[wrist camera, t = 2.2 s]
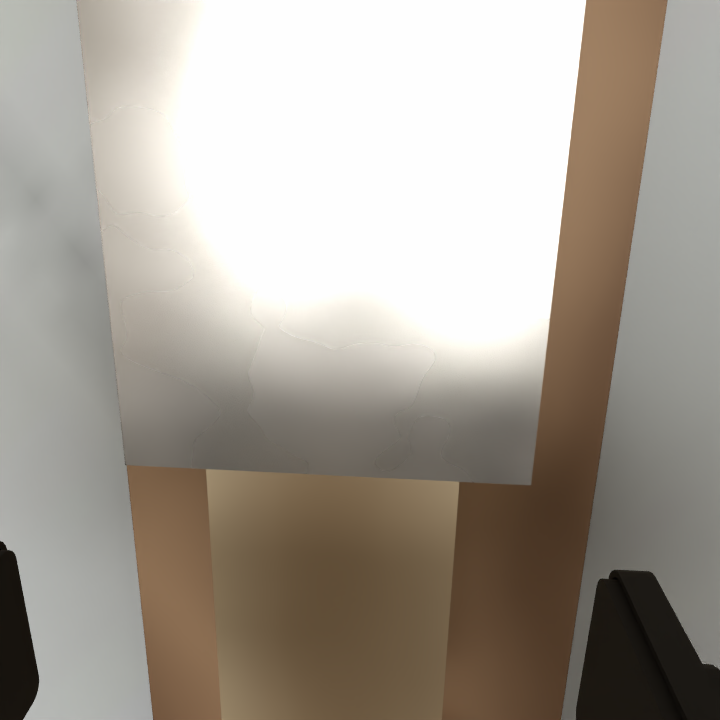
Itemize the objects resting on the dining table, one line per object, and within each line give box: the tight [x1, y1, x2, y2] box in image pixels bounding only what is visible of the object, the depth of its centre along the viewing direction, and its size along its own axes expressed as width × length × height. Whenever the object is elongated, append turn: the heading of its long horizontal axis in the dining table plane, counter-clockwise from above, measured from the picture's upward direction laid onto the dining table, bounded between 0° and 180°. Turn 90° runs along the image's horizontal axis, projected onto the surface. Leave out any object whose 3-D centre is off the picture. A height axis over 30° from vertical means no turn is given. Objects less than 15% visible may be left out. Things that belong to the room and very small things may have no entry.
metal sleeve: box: [77, 0, 586, 485], centre depth 12 cm, size 6×9×7 cm, turn 179°
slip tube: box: [206, 469, 459, 720], centre depth 13 cm, size 4×18×4 cm, turn 179°
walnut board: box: [127, 0, 668, 720], centre depth 18 cm, size 12×26×2 cm, turn 179°
